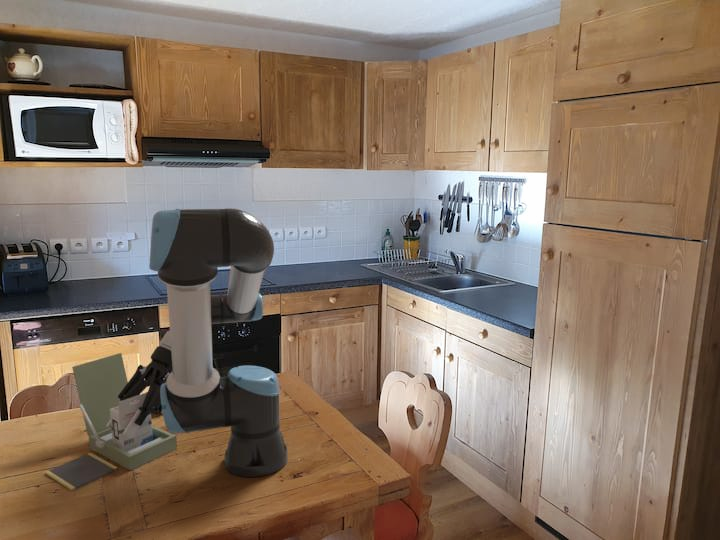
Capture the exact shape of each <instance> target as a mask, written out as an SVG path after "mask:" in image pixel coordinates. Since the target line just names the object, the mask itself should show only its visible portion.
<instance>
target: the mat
mask: <svg viewBox="0 0 720 540" xmlns="http://www.w3.org/2000/svg"><path fill="white" fill-rule="evenodd" d="M118 469H119V468H118V467H117V466H115V465H114V464H112V463H110V462H109V461H107V460H105V459H103V458H102V457H99V456H97V455H96V454H94V453H92V452H89V453H87V454H85V455H82V456H80V457H77V458H74V459H73V460H70V461H67V462H65V463H63V464H61V465H59V466H56V467H54V468H51V469H49V470H48V469H47V470H45V471H44V474H45V475H46V476H48V477H50V479H53V480H54V481H55V482H57V483H59V484H60V485H61V486H63V487H65V488H66V489H68V490H69V491H71V492H73V491H74V490H76V489H78V488H81V487H83V486H85V485H88V484H90V483H92V482H93V481H96V480H98V479H101V478H102V477H105V476H107V475H109V474H111V473H112V472H115V471H117V470H118Z"/></svg>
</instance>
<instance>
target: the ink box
mask: <svg viewBox="0 0 720 540" xmlns="http://www.w3.org/2000/svg"><path fill="white" fill-rule="evenodd" d="M147 392H148V391H146V392H142V393H141V394H140V395H137V396H134V397H131V398H128V399H126V400H123V401H120V402H119V403H118V406H117V407H114V408H111V409H110V419H111V429H112V439H113V445H115V446H117V447H119V448H121V449H122V450H124V451H126V452H128V451H131V450H133V449H135V448H137V447H139V446H142V445H144V444H146V443H148V442H151V441H153V433H152V425H153V423H152V422H153V421H152V414H150V415H148V416H147V417H146V419H145V420H144V422H143V424H142V425H141V426H140V427H139V428H138V430H137V431H136V433H135V434H134V436H133V438H132V439H131V438H129V437H127V436H126V435H124V434H122V433H123V432H124V430H125V429H126V427H127V426H128V424H129V422H130V421H131V419H132V418H133V416H134V415H135V413H136V412H137V410H140V409H139V407H142V405H143V403H144V400H145V398H146V395H147ZM133 400H134V401H133ZM140 411H141V410H140Z"/></svg>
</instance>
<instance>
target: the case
mask: <svg viewBox="0 0 720 540" xmlns="http://www.w3.org/2000/svg"><path fill="white" fill-rule="evenodd" d="M71 368H72V372H73V377H74V380H75V385H76V389H77V394H78V399H79V402H80V403H79V404H78V407H79V409H80V411H81V413H82V415H83V421H84V425H85V428H86V433H87V436H88V444H89V450H92V451H94V452H95V453H98V454H100V455H101V456H103V457H105V458H106V459H108V460H110V461H113V462H114V463H116V464H117V465H120V466H122V467H123V468H125V469H127V470H128V471H133V470H135V469H137V468H139V467H141V466H143V465H145V464H148V463H149V462H152V461H153V460H156V459H159V458H160V457H162V456H163V455H165V454H168V453H170V452H173V451H175V450H177V449H178V443H177V440H178V439H177V434H175V433H171V432H170V431H166V430H164V429H163V428H160V427H157V426H155V425H153V424H152V433H153V441H151V442H148V443H146V444H144V445H142V446H139V447H137V448H135V449H133V450H131V451H128V452H126V451H124V450H122V449H121V448H119V447H117V446H115V445H113V439H112V429H111V428H109V427H107V426H106V425H107V423H108V422H109V420H110V409H111V408H114V407H117V406H118V403H119V402H120V399H119V398H118V395H119V394H120V393H121V391H122V390H123V388H124V387H125V386H126V384H127V383H128V382H129V380H128V378H127V377H128V376H127V374H126V373H127V372H126V368H125V364H124V361H123V355H122V353H121V352H120V353H119V352H118V353H115V354H112V355H108V356H105V357H102V358H99V359H94V360H92V361H87V362H85V363H81V364H78V365H77V364H76V365H74V366H72V367H71Z"/></svg>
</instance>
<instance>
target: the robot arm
mask: <svg viewBox="0 0 720 540" xmlns="http://www.w3.org/2000/svg"><path fill="white" fill-rule="evenodd" d="M151 223H152V224H151V233H150V234H151V235H150V251H149V266H148V267H149V268H148V269H149V270H151V271H154V272H157V277H158V279H159V281H160V282H162V283H164V285H166V292H167V293H166V294H167V295H166V296H167V309H168V320H169V321H168V322H169V328H168V330H167V331H166V333H165V334H164V335H163V337H162V338H161V340H160V341H159V345H158V346H156V348H155V349H154V351H153V352H152V353H151V355H150V359H151V362H149V364H148V365H146V366H144V365H142V364H139V365H138V366H137V368H136V370H135V372H134V374H133V375H132V376H131V377H130V379H129V380H128V383H127V384H126V386H125V387H124V388H123V390H122V391H121V393H120V394H119V395H118V398H119V399H120V401H123V400H126V399H128V398H131V397H134V396H137V395H141V394H143V393H144V391H145V389H147V387H149V388H148V390H147V391H146V392H147V395H146V398H145V400H144V403H143V405H142V407H139V409H140V410H141V411H140V410H137V412H136V413H135V415H134V416H133V418H132V419H131V421H130V422H129V424H128V426H127V427H126V429H125V430H124V432H123V433H122V434H124V435H126V436H127V437H129V438H131V439H132V438H133V436H134V434H135V433H136V431H137V430H138V428H139V427H140V426H141V425H142V424H143V422H144V420H145V419H146V417H147V416H148V415H150V414H151V415H152V414H153V415H157V413H158V412H159V411H160V410H159V408H160V406H161V405H162V412H163V414H162V416H163V421H164V424H165V427H166V429H167V430H168V432H169V433H171V434H190V433H193V432H194V433H195V432H201V431H207V430H213V429H220V428H229V427H230V436H229V439H228V443H227V448H226V450H225V452H224V466H225V468H226V470H227V471H228V472H230V473H231V474H233V475H235V476H238V477H242V478H243V477H245V478H258V477H264V476H265V477H266V476H268V475H271V474H274V473H276V472H278V471H279V470H281V469H282V468H283V467H284V466H286V465H287V462H288V458H289V457H288V447H287V445H286V443H285V438H284V437H283V434H282V431H281V427H280V422H281V421H280V391H281V390H280V386H279V378H278V376H277V374H276V373H275V372H274V371H272V370H271V369H269V368H267V367H263V366H258V365H248V364H247V365H238V366H235V367H233V368H230V370H229V371H228V373H227V376H220V373H219V371H218V370H217V369H216V368H214V366H213V338H212V337H213V335H212V334H213V333H212V332H213V331H212V325H215V324H230V323H232V324H233V323H243V322H247V323H249V322H252V321H253V322H254V321H259V320H261V319H262V318H263V315H264V302H263V301H264V300H263V296H262V294H261V293H260V289H261V286H262V283H263V278H264V274H265V271H266V270H267V269H268V268H269V267H270V265H271V263H272V261H273V258H274V254H275V244H274V241H273V240H274V239H273V237H272V235H271V233H270V231H269V230H268V228H267V226H265V225H264V223H263V222H262V221H261V220H260V219H258V218H257V217H256V216H254V215H252V214H251V213H249V212H247V211H245V210H241V209H237V208H203V209H202V208H198V209H197V208H196V209H194V208H193V209H180V208H174V209H167V210H166V209H165V210H159V211H157V212H156V213H154V215H153V217H152V222H151ZM226 267H230V272H229V277H228V285H227V286H228V288H227V293H226V294H224V293H223V294H214V295H213V294H211V283H212V282H213V281H214V280H215V279H216V278H217V276H218V268H226ZM133 401H135V400H133ZM153 407H154V408H153ZM158 410H159V411H158ZM106 426H107V427H109V428H111V419H110V420H109V422H108V423H107V425H106Z"/></svg>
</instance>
